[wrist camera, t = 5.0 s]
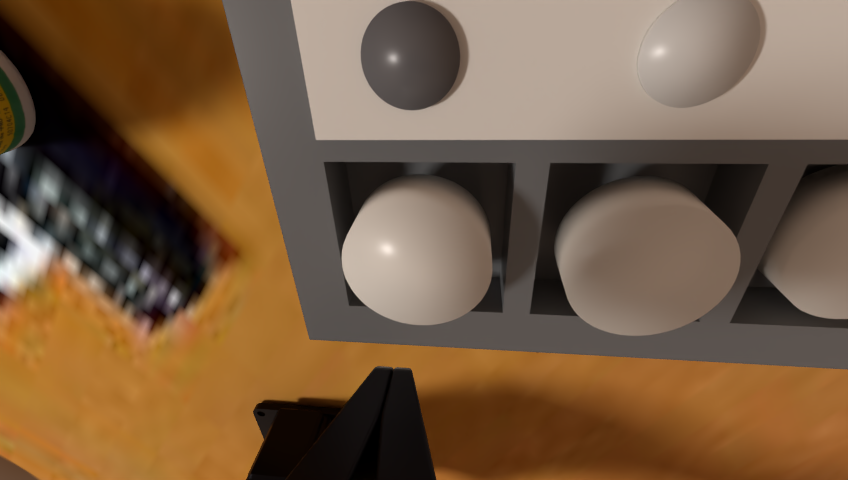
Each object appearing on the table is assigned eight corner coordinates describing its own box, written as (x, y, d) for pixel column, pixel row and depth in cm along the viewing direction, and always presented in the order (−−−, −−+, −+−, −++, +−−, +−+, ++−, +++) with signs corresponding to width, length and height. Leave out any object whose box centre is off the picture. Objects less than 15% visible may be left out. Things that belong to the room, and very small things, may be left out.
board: (877, 317, 17) (961, 386, 14) (330, 294, 20) (305, 348, 17) (1200, -115, 10) (1515, -160, 7) (258, -60, 12) (191, -75, 9)
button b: (681, 299, 15) (707, 339, 13) (546, 294, 15) (554, 331, 14) (729, 176, 12) (769, 206, 10) (564, 175, 13) (578, 203, 11)
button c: (487, 291, 15) (488, 328, 14) (364, 286, 16) (351, 321, 14) (494, 174, 13) (497, 202, 11) (348, 173, 13) (330, 200, 12)
